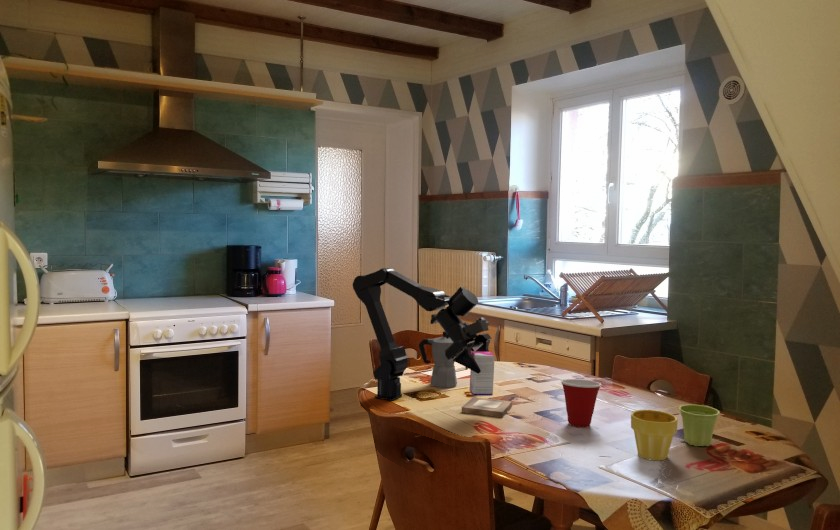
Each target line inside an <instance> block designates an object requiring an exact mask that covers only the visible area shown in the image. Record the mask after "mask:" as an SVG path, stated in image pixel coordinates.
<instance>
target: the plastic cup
mask: <svg viewBox="0 0 840 530" xmlns="http://www.w3.org/2000/svg"><path fill="white" fill-rule="evenodd" d="M560 382H561V384H562V389H563V393H564V401H565V408H566V413H567V414H566V415H567V422H568V425H570V426H572V427H576V428H588V427H591V424H592V419H593V418H592V417H593V414H594V411H595V407H596V402H597V397H598V394H599V390H600V388H601V387H602V383H601V382H597V381H593V380H588V379H587V380H586V379H579V378H567V379H566V378H565V379H562V380H561V379H560Z"/></svg>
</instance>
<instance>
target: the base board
mask: <svg viewBox="0 0 840 530" xmlns="http://www.w3.org/2000/svg"><path fill="white" fill-rule="evenodd" d="M512 407H513V401H509V400H502V399H493V398H486V397H478V396H473V397H471V398H470V399H469V400H468V401H467V402H466V403H465V404H463V405H462V406H461V413H464V412H466V413H467V414H472V413H474V415H480V414H483V415H482V416H488V415H491V417H496V416H498V418H504V416H505V415H506V414H507V413H508V412H509V411H510V410H511V408H512ZM508 410H509V411H508ZM507 411H508V412H507Z"/></svg>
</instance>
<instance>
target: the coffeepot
mask: <svg viewBox="0 0 840 530" xmlns="http://www.w3.org/2000/svg"><path fill="white" fill-rule="evenodd" d="M446 335H447V333H446V332H445V331H444V330H443V331H442V336H440V337H434V338H423V339H422V340H421V341H420V342H419V343H418V349H419V351H420V355H421V358H422V361H423V363H424V364H431V360H430V359H429V360H428V359H427V353H426V349H425V345H429V346H431V351H432V352H431V353H432V359H433V360H434V364H433V368H432V372H431V378H430V382H429V383H430V386H431V387H434V386H435V388H439V387H441V388H440V389H450V388H449V387H452V388H455V387H457V385H458V381H457V373H456V367H455V362H453V359H452V360H449V361H448V360H447V358H446V357H445V350H446V349H447V348H448V347H449V346H450V345H451V344H453V341H452V340H451V339H447V338H446V337H445V336H446ZM454 358H456V357H455V356H454Z"/></svg>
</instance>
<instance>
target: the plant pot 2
mask: <svg viewBox="0 0 840 530" xmlns="http://www.w3.org/2000/svg"><path fill="white" fill-rule="evenodd" d="M678 410H679V411H680V416H681V419H682V428H683V437H684V438H683V439H684V442H685V443H688V445H690V446H692V445H694V447H697V446H702V447H709V446H711V443H712V438H713V434H714V430H715V429H714V428H715V425H716V421H717V419H718V416H719V415H720V414H721V413H720V410H718V409H717V408H714V407H712V406H708V405H703V404H701V405H700V404H683V405H680V406H679V408H678Z"/></svg>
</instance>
